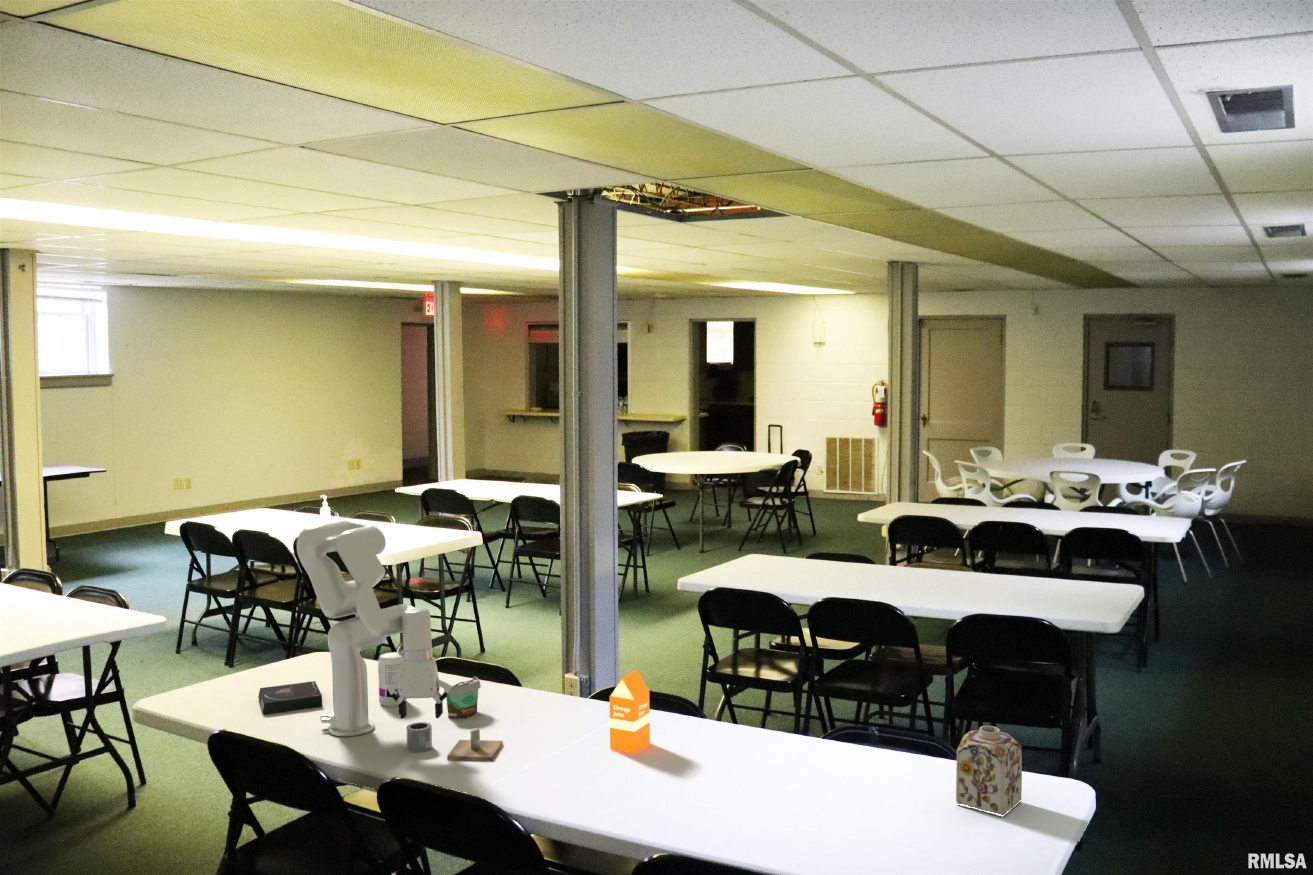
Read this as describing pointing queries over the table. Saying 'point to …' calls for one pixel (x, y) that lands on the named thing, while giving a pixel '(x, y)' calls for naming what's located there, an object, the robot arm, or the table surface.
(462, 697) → the food container
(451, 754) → the wooden peg base
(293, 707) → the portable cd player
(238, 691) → the table surface
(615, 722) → the orange juice
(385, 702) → the supplement can
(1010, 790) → the decorative jar
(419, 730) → the sleeve
